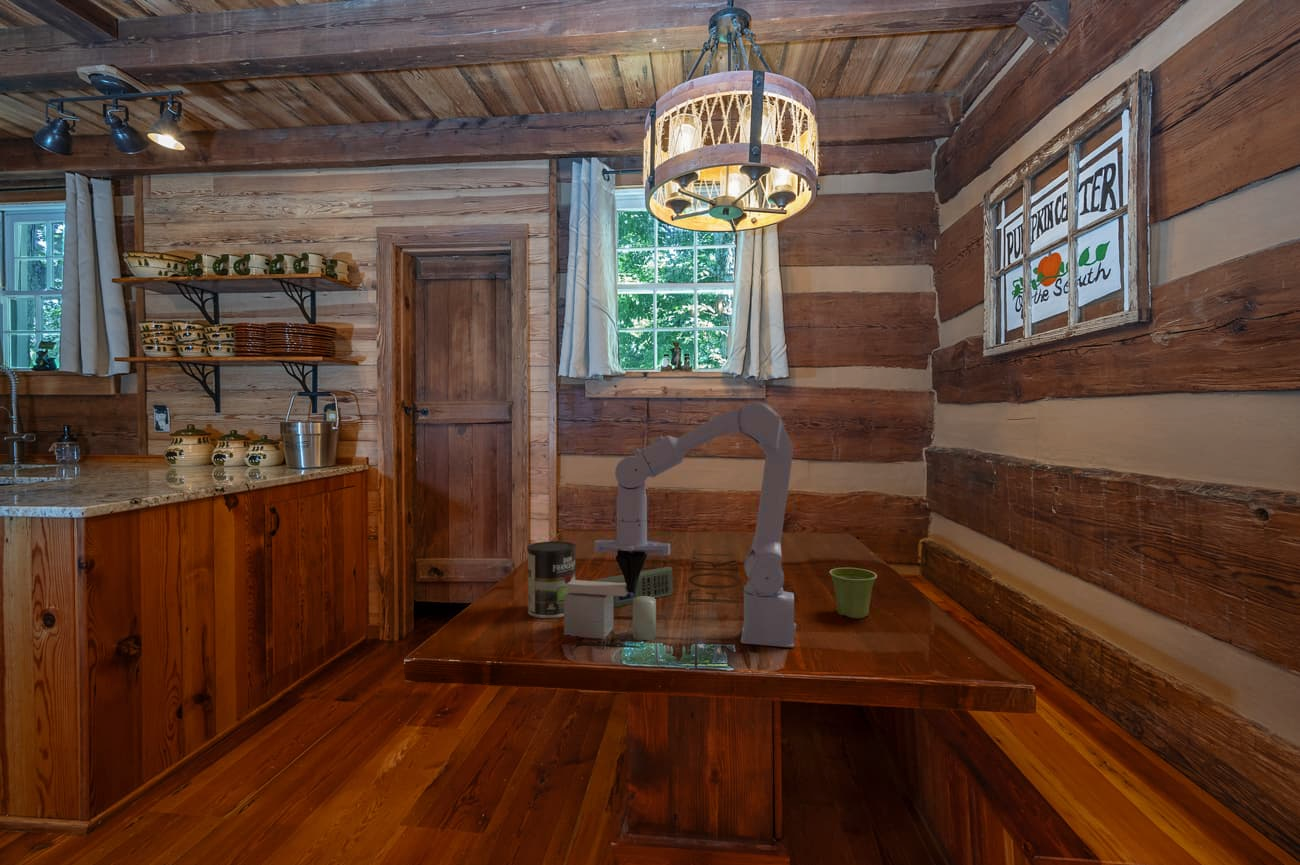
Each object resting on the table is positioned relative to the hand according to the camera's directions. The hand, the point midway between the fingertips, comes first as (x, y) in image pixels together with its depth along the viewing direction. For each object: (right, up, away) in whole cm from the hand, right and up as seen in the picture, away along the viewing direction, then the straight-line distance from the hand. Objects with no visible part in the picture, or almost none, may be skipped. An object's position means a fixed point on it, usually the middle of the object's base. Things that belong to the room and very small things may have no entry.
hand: (631, 591), depth 107 cm
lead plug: (+2, -9, 0) cm, 9 cm away
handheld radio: (-2, -9, +20) cm, 22 cm away
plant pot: (+46, -8, +12) cm, 49 cm away
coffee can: (-18, -9, +15) cm, 24 cm away
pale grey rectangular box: (-7, -1, +2) cm, 7 cm away
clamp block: (-8, -8, +2) cm, 12 cm away
